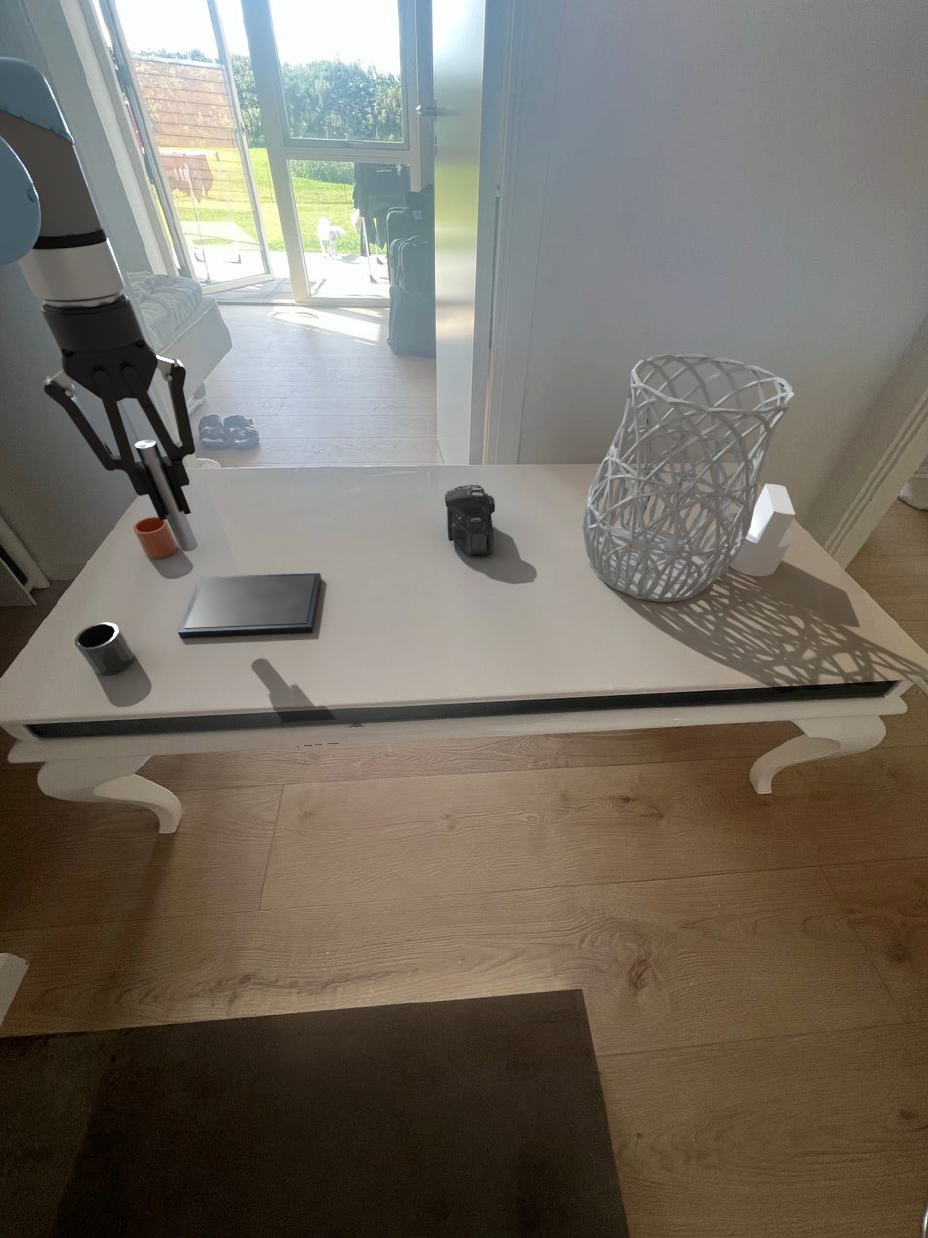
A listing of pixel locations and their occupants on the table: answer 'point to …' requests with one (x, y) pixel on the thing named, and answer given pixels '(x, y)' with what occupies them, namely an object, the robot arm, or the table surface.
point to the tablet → (252, 605)
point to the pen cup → (155, 537)
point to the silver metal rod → (166, 494)
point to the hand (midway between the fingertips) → (173, 511)
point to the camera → (470, 519)
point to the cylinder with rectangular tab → (766, 533)
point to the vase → (677, 487)
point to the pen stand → (104, 648)
